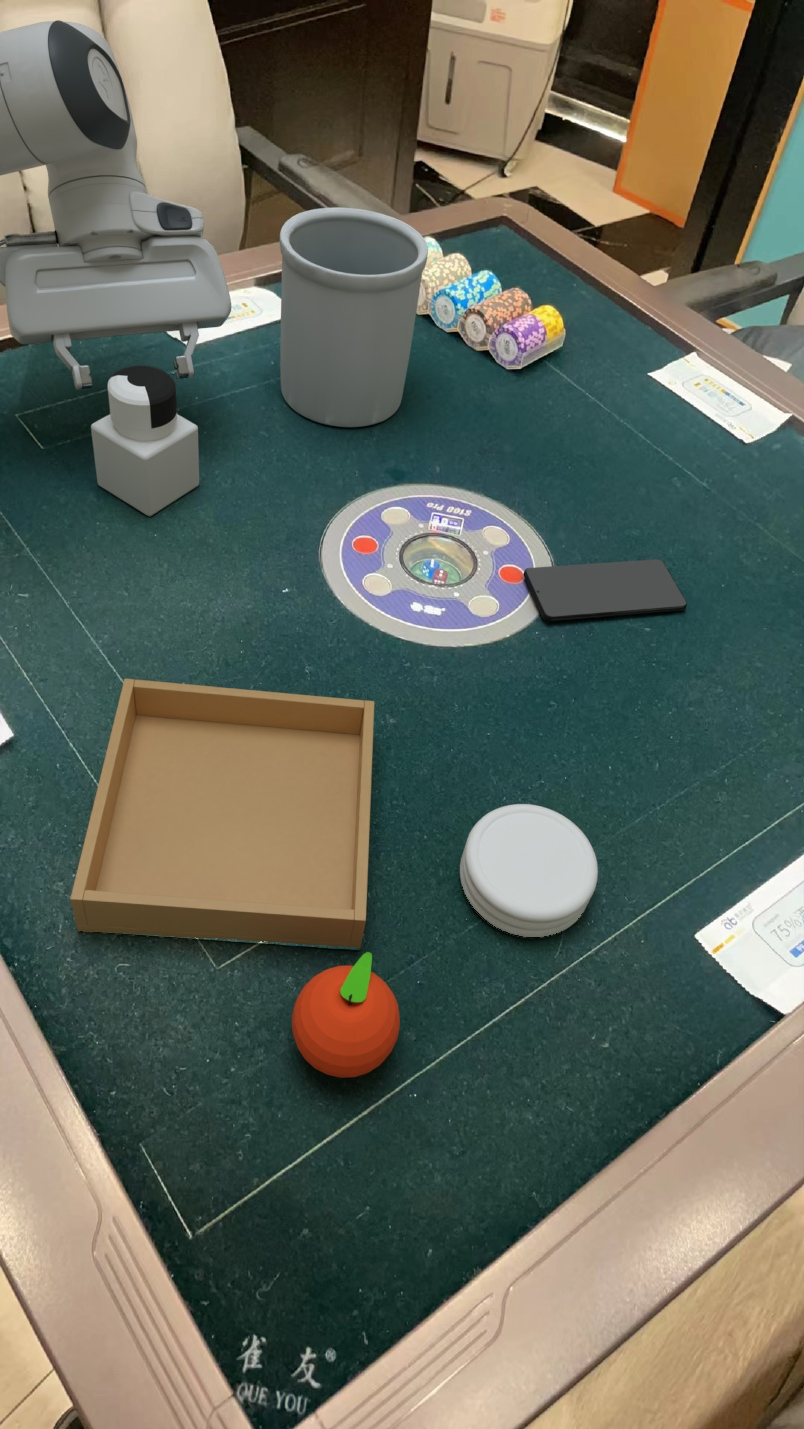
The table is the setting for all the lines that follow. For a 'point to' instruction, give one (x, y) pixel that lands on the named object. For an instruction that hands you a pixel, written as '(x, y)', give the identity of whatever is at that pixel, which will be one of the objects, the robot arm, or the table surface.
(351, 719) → the bin
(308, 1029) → the clementine
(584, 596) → the smartphone
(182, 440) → the medicine bottle
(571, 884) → the white round disc
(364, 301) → the utensil holder
